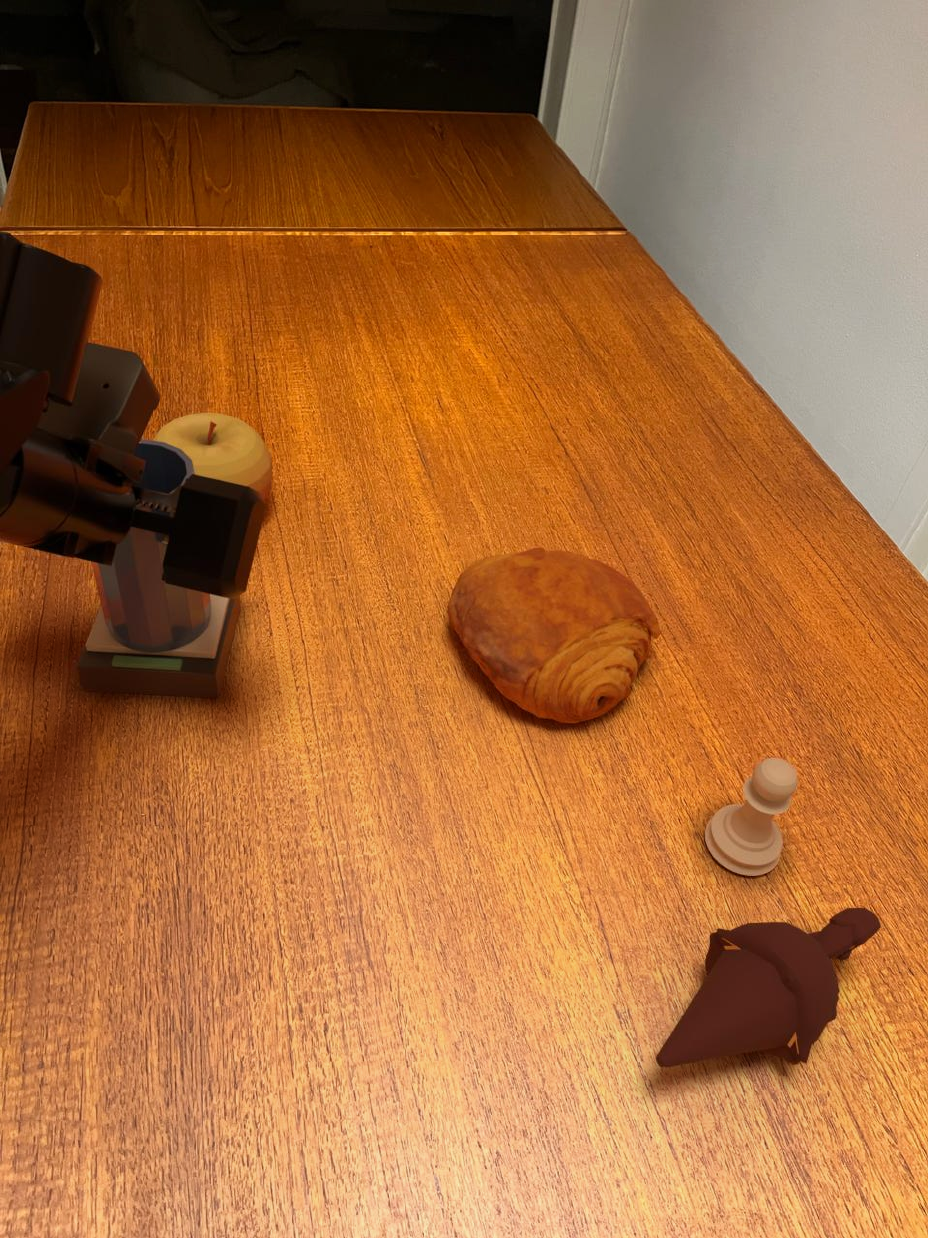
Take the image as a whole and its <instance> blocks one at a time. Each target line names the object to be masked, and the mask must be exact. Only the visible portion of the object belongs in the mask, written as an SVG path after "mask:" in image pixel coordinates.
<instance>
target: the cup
mask: <svg viewBox="0 0 928 1238" xmlns="http://www.w3.org/2000/svg"><path fill="white" fill-rule="evenodd" d="M133 455H134V456H136V457H138V458H140V459H142V460H144V461H146V464H145V468H144V472H143V476H142V480H141V482H140V483H139V484H138V483H134V482H132V486H137V487H141V488H146V489H150V490H154V491H159V492H163V493H167V494H170V493H172V492H173V491H174V490H175V489H176V488H177V487H178V486H181V485H183V484H184V483H185V480H186V478H189V477H190V476H191V474H195V473H194V467H193V462H192V460H191V459H190V458H189V457H188V456H187V455H186V454H185V453H184V452H183V451H182V450H181V449H179V448H177V447H174V446H172V445H170V444H167V443H165V442H160V441H153V439H152V440H150V439H145V438H141V440H140V442H139V444H138V446H137V447H136V449H135V450H134V454H133ZM136 509H139V510H143V511H148V512H152V513H156V514H160V515H165V516H169V513H168V512H167V508H166V510H165V511H164V512H163V511H160V507H159V509H158V510H155V509H154V508H153V506H152V508H151V509H150V508H147V504H146V506H145V507H142V506H140V503H139V505H136ZM173 510H174V511H176V509H173ZM163 536H164V535H163V534H158V533H154V532H150V531H146V530H141V529H137V528H133V527H131V528H130V531H129V532H128V534H127V535H126V537H125V538H124V540H123V541H122V542H121V543H119V544H117V547H116V551H115V555H114V559H113V563H112V566H109V565H104V564H99V563H95V562H91V561H90V563H91V567H92V571H93V576H94V580H95V583H96V584H95V585H96V588H97V593H98V597H99V603H100V606H102V611H103V615H104V619H105V623H106V625H107V628H108V631H109V633H110V634H111V636H112V637H113V638H114V639H115V640H116V641H117V642H118V643H119V644H121V645H123V646H125V647H127V648H129V649H132V650H136V651H141V652H165V651H170V650H174V649H177V648H180V647H183V646H185V645H187V644H189V643H191V642H192V641H194V640H195V639H197V638H198V637H199V636H200V635H201V634H202V633H203V632H204V631H205V630H206V628H207V627H208V625H209V623H210V620H211V614H212V612H211V609H212V608H211V600H210V594H208V593H204V592H199V591H195V590H191V589H187V588H183V587H179V586H174V585H170V584H166V583H165V581H163V580H162V575H163V567H162V565H163V561H164V556H165V552H166V548H167V544H165V543H162V540H163Z"/></svg>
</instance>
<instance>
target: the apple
mask: <svg viewBox="0 0 928 1238" xmlns="http://www.w3.org/2000/svg"><path fill="white" fill-rule="evenodd" d="M152 441H160V442H165V443H167V444H170V445H172V446H174V447H177V448H179V449H181V450H182V451H183V452H184V453H185V454H186V455H187V456H188V457H189V458H190V459H191V460H192V462H193V467H194V473H195V475H200V476H204V477H209V478H213V479H218V480H222V481H226V482H231V483H235V484H240V485H244V486H248V487H251V488H253V489H254V490H256V491H258V492H260V493H261V495H262V497H263V498H264V500H265V501H266V499H267V498H268V496H269V494H270V493H271V491H272V482H273V468H274V467H273V466H274V465H273V459H272V458H273V457H272V453H271V452H270V450H269V448H268V446H267V445H266V443H265V442H264V440H263V439H262V437H261V435H260V434H259V432H258V431H257V430H256V429H254V428H253V427H252V426H251V425H249V424H248V423H246V422H245V421H243V420H242V419H240V418H237V417H235V416H231V415H228V414H226V413H216V412H200V413H189V414H185V415H183V416H180V417H177V418H174V419H172V420H171V421H170V422H168V423H166V424H165V425H164V426H162V427H161V428H160V429H159V430H158V431H157V432H156V434H155V436H154V437H153V439H152Z"/></svg>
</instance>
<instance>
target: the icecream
mask: <svg viewBox="0 0 928 1238" xmlns="http://www.w3.org/2000/svg"><path fill="white" fill-rule="evenodd" d="M881 928H882V927H881V921H880V919H879V917H878V916H877V915H876V914H875V913H874V912H873V911H871V910H869V909H868V908H866V907H847V908H845V909H842V910H841V911H839V912H837V913H836V914H834V915H832V917H831V918H829V921H828V923H827V924H826V925H825V926H824V927H822V928H821V929H820V930H818V931H813V932H809V933H808V932H806V931H804V930H803V929H802V928H800V927H798V926H795V925H794V924H792V923H789V922H787V921H766V922H763V921H761V922H747V923H744V924H741V925H739V926H736V927H734V928H732V929H726V928H725V929H724V928H721V927H720V928H716V931H715V932H711V933H710V934H709V946H708V950H707V953H706V956H705V959H704V970H705V974H706V978H705V979H704V981H703V982H702V984H701V986H700V987H699V988H698V990H697V992H696V994H695V995H694V997H693V998H692V1000H691V1002H690V1003H689V1005H688V1006H687V1008H686V1009H685V1011H684V1012H683V1014H682V1015H681V1017H680V1019H679V1021H678V1022H677V1024H676V1025H675V1027H674V1028H673V1030H671V1033H670V1034H669V1036H668V1037H667V1038H666V1040H665V1041H664V1043H663V1045H662V1046H661V1048H660V1050H659V1051H658V1053H657V1054H656V1057H655V1061H656V1064H657V1065H658V1066H659V1067H660V1068H662V1069H664V1068H671V1067H672V1068H673V1067H678V1066H682V1065H683V1066H684V1065H687V1064H693V1063H699V1062H703V1061H708V1060H709V1061H710V1060H714V1059H720V1058H726V1057H730V1056H737V1055H742V1054H749V1053H754V1052H760V1053H762V1054H764V1055H766V1056H770V1057H774V1058H778V1059H782V1060H784V1061H785V1062H787V1063H789V1064H791V1065H799V1063H803V1064H807V1062H808V1060H809V1056H810V1053H811V1049H812V1045H814V1044H815V1043H816V1042H817V1041H818V1040H819V1039H820V1037H821V1035H822V1033H824V1030H825V1029H826V1027H827V1025H828V1024H829V1023H831V1022H833V1021H835V1020H836V1019H837V1016H838V1015H837V1014H838V1009H837V1006H838V1004H839V1000H840V997H839V996H840V995H839V994H840V986H839V980H838V979H837V976H836V975H837V974H836V970H835V967H834V962H833V961H832V960H833V959H835V958H836V959H837V960H838V961H840V962H843V961H845V960H847V959H849V958H850V957H851V955H852V952H853V950H854V949H857V948H859V947H860V946H862V945H865V944H866V943H867V942H868V941H869V940H870V939H872V937H873V936H875V935H876V934H877V933H878V931H879V930H880V929H881Z"/></svg>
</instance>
